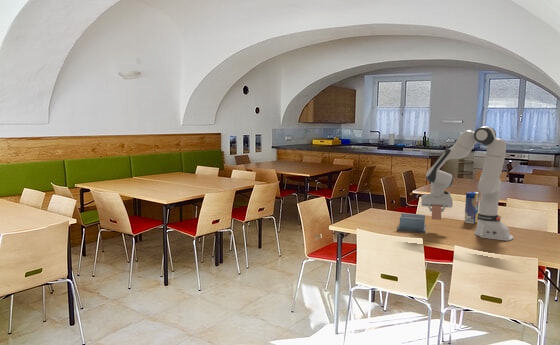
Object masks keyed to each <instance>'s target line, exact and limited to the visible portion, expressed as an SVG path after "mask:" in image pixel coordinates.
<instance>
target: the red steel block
mask: <svg viewBox="0 0 560 345" xmlns="http://www.w3.org/2000/svg"><path fill="white" fill-rule="evenodd" d="M431 208H432V211H431V220H438V221H441V220H442V212H441V209H442V208H443V207H442V206H441V205H432V207H431Z"/></svg>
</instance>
